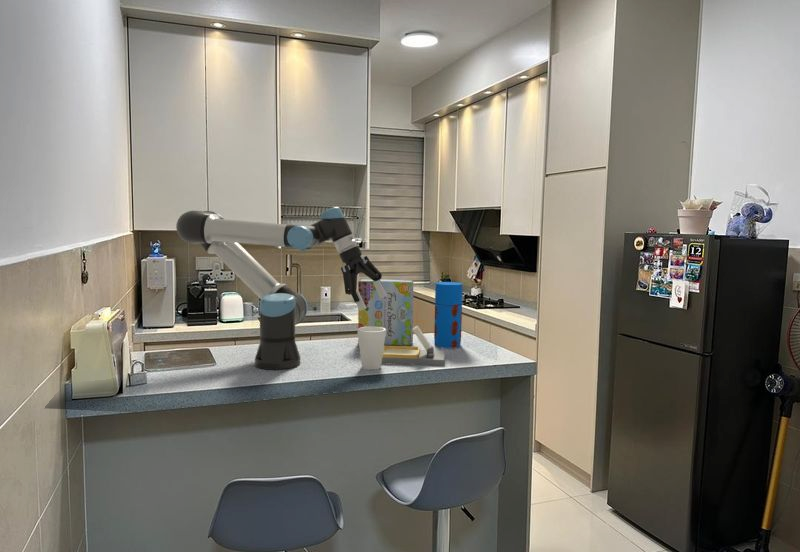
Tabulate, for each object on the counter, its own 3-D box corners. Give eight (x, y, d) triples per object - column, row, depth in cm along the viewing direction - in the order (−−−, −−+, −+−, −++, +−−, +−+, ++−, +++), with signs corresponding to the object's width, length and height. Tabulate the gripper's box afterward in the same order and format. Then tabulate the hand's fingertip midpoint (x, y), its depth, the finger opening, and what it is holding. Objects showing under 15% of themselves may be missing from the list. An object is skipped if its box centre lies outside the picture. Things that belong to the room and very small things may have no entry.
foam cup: (381, 371, 176) (381, 332, 175) (354, 369, 178) (354, 331, 177) (387, 364, 185) (388, 327, 184) (361, 362, 187) (362, 325, 186)
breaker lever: (429, 356, 190) (411, 330, 190) (429, 353, 195) (412, 328, 194) (434, 352, 190) (417, 327, 189) (434, 349, 195) (418, 324, 194)
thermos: (430, 342, 221) (431, 282, 218) (454, 341, 224) (456, 281, 221) (440, 348, 210) (441, 285, 208) (465, 347, 213) (467, 284, 211)
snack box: (413, 342, 222) (414, 279, 219) (410, 346, 213) (412, 282, 210) (361, 339, 225) (362, 278, 222) (357, 344, 216) (357, 280, 214)
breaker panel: (369, 362, 187) (369, 353, 187) (374, 353, 201) (374, 344, 201) (444, 365, 185) (444, 356, 185) (443, 355, 199) (444, 347, 199)
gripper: (334, 254, 179) (361, 311, 180) (374, 237, 199) (399, 289, 201) (319, 261, 183) (346, 318, 184) (360, 244, 204) (384, 295, 205)
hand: (373, 303), depth 193 cm, fingers open, 13 cm apart
